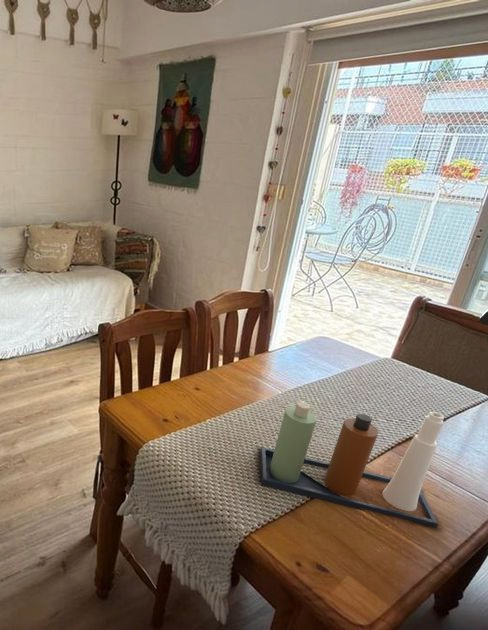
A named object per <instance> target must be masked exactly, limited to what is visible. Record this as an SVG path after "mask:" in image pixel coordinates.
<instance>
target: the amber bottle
mask: <svg viewBox="0 0 488 630" xmlns="http://www.w3.org/2000/svg"><path fill="white" fill-rule="evenodd" d="M372 420H373V419H372V417H371V416H370V415H368V414H365V413H357V414H356V416H355V417H348V418H345V419H344V421H343V423H342V425H341V429H340V431H339V435H338V438H337V441H336V443H335V447H334V449H333V452H332V455H331V457H330V460H329V463H330V464H329V467H328V468H327V470H326V473H325V476H324V479H323V481H324V484H325V486H326V488H327V489H328V490H329V491H331V492H332V493H334V494H336V495H338V496H343V497H351V496H354V495H355V494H356V493H357V490H358V487H359V486H360V482H361V480H362V478H363V477H362V474H363V472H364V471H365V469H366V467H367V464H368V462H369V459H370V456H371V454H372V452H373V451H372V450H373V448H374V445H375V443H376V441H377V438H378V435H379V430H378V428H377V427H376V426H375V425H374V424H372Z"/></svg>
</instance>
